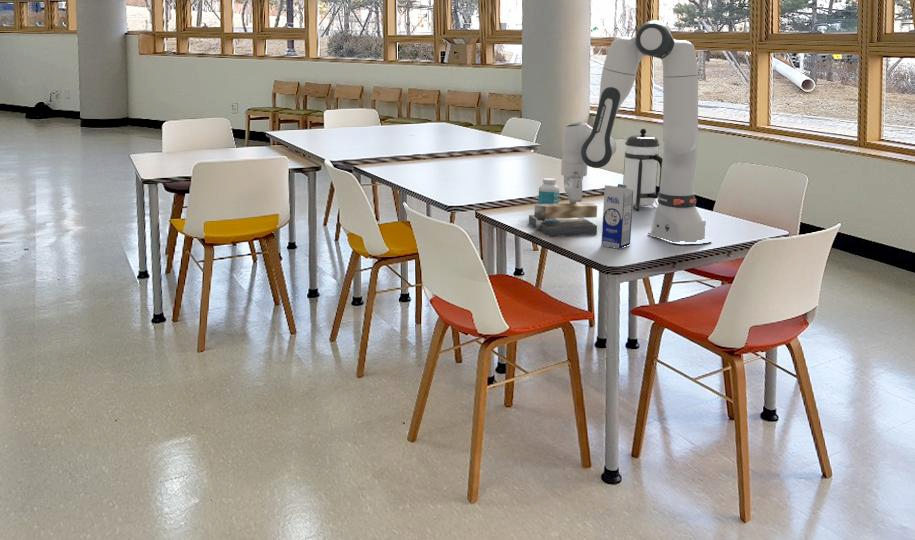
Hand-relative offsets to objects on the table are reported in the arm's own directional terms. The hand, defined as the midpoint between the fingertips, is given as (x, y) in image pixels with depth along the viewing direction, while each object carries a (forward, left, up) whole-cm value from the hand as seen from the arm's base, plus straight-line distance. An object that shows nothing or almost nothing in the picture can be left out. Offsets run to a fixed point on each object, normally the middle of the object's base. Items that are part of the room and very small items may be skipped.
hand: (572, 209), depth 330 cm
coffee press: (+24, -38, -6) cm, 46 cm away
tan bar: (-3, +4, -1) cm, 6 cm away
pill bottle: (+19, +2, -6) cm, 20 cm away
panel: (-2, +5, -6) cm, 8 cm away
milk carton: (-28, -3, -6) cm, 29 cm away
